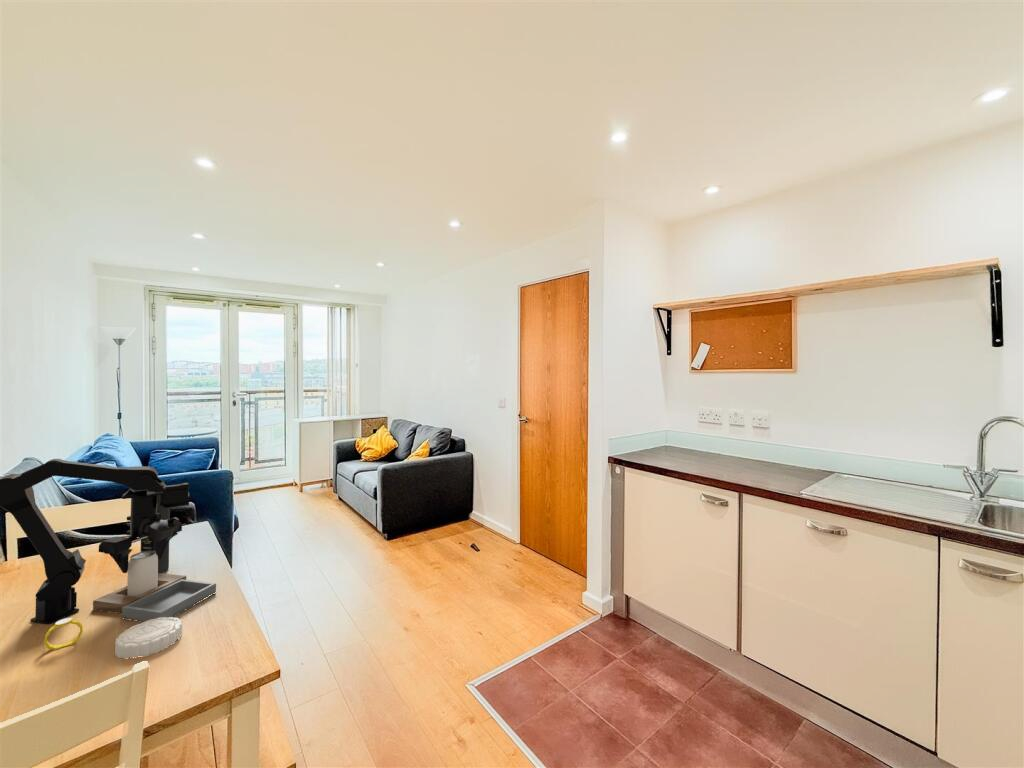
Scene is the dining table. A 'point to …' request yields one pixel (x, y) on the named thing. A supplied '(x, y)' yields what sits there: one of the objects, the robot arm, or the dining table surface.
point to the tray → (168, 600)
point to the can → (142, 573)
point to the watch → (61, 624)
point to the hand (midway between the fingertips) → (142, 565)
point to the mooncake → (148, 637)
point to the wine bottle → (149, 543)
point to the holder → (121, 598)
